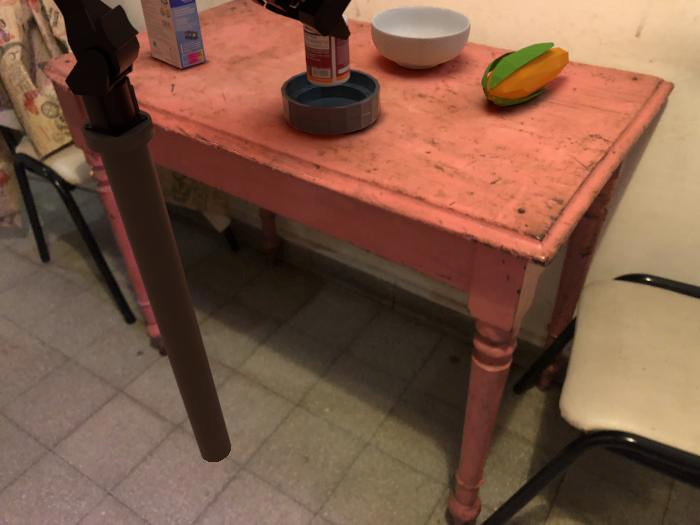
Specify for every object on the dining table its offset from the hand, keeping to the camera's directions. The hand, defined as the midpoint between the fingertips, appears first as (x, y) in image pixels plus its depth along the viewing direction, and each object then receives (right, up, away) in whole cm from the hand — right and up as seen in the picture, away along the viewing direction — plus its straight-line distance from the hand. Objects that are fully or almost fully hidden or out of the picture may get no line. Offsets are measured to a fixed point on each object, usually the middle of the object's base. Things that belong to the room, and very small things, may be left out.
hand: (334, 30), depth 81 cm
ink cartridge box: (-29, +5, +26) cm, 39 cm away
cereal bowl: (+14, +3, +23) cm, 27 cm away
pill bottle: (-1, -6, +4) cm, 7 cm away
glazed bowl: (-1, -10, +7) cm, 12 cm away
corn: (+29, -6, +11) cm, 32 cm away
